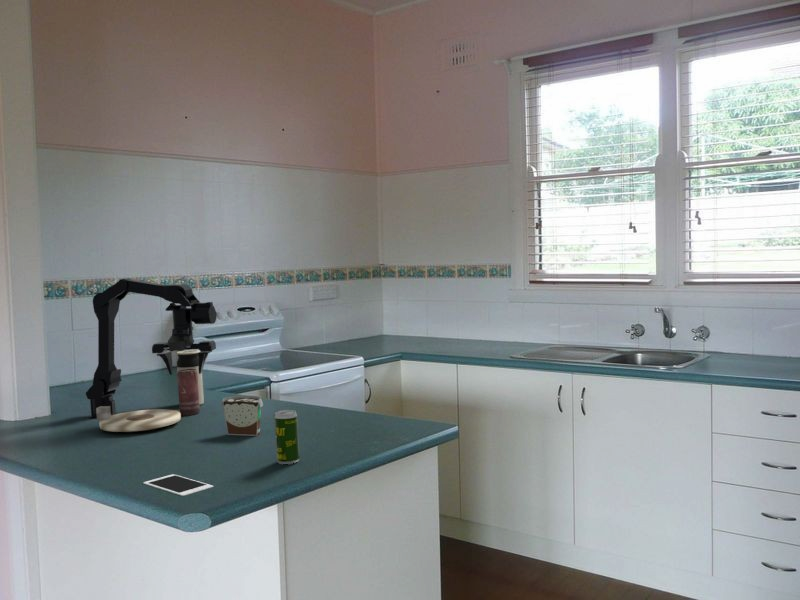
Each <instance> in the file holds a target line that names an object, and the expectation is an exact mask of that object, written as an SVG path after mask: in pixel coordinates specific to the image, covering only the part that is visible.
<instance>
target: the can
mask: <svg viewBox="0 0 800 600" xmlns="http://www.w3.org/2000/svg"><path fill="white" fill-rule="evenodd" d="M176 376H177V392H178V393H177V394H178V405H179V412H180V414H181V416H186V417H187V416H194V415H198V414H199V413H200V410H201V409H200V407H201V406H200V405H199V391H198V376H197V371H196V369H184V370H179V371H178V373H177V372H176Z"/></svg>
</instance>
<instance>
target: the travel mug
mask: <svg viewBox="0 0 800 600" xmlns="http://www.w3.org/2000/svg"><path fill="white" fill-rule="evenodd" d="M199 352H200V350H199V349H189V350H183V351H177V352H176V354H177V356H178V358H177V360H176V369H177V371H176V374H177V373H178V371H179V370H184V369H196V371H197V376H198V391H199V406H201V405H203V404H204V403H205V398H204V397H205V395H204V381H203V372H202V373H201V374H199V356H198V353H199Z"/></svg>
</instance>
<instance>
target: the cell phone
mask: <svg viewBox="0 0 800 600" xmlns="http://www.w3.org/2000/svg"><path fill="white" fill-rule="evenodd" d="M143 485H146V486H149V487H151V488H152V487H153V488H154V489H155V488H156V489H158V490H162V491H164V492H169V493H171V494H174V495H178V496H181V497H184V496H188V495H192V494H195V493H198V492H201V491H204V490H205V491H206V490H208V489H212V488H214V485H211V484H208V483H205V482H202V481H198V480H195V479H191V478H188V477H185V476H182V475H178V474H174V473H172V474H169V475H165V476H162V477H158V478H153V479H151V480H147V481H143Z"/></svg>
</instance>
